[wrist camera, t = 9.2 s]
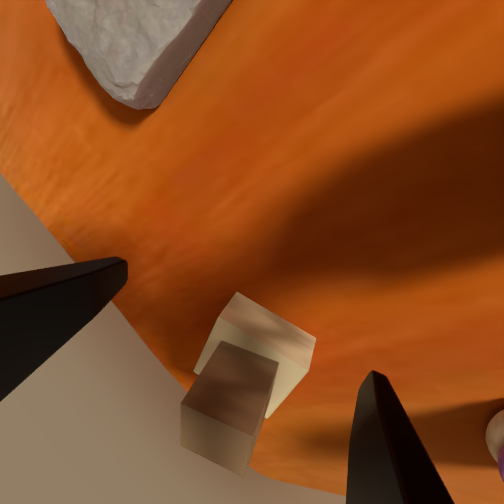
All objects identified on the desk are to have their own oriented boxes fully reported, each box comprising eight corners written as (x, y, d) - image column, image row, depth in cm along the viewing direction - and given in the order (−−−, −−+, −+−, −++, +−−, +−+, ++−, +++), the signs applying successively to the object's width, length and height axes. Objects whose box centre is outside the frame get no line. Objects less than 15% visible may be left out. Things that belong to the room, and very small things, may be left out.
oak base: (316, 335, 25) (308, 370, 21) (279, 383, 29) (267, 419, 26) (238, 289, 26) (218, 316, 22) (212, 342, 30) (193, 371, 26)
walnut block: (279, 362, 22) (253, 436, 17) (269, 402, 24) (243, 477, 19) (221, 340, 23) (180, 403, 18) (217, 380, 26) (180, 445, 21)
